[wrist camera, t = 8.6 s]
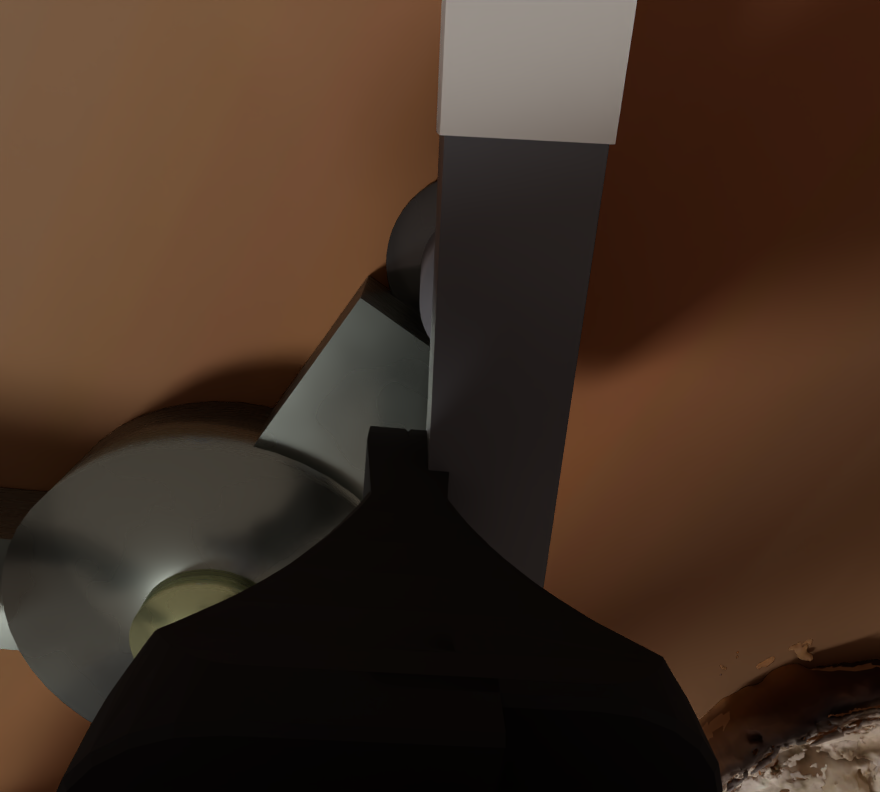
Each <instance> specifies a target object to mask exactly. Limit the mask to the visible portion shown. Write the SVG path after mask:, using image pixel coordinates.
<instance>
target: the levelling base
mask: <svg viewBox="0 0 880 792" xmlns="http://www.w3.org/2000/svg"><path fill="white" fill-rule="evenodd" d="M437 182H438V180H437V181H435V182H433V183H431V184H430V185H428V186H427V187H425V188H424V189H423V190H421V191H420V192H419V193H418V194H417V195H416V196H414V197H413V198H412V199H411V200H410V202H409V203H408V204H407V205H406V207H405V208H404V209H403V211H402V212H401V214H400V215H399V217H398V219H397V221H396V223H395V225H394V228H393V230H392V233H391V236H390V240H389V243H388V249H387V259H386V268H387V278H388V282H389V286H390V290H391V291H390V290H389V289H387V288H386V287H384V286H383V285H382V284H380V283H379V282H378V281H376V280H375V279H373V278H372V277H371V276H368V277H367V278H366V280H365V281H364V283H363V284H362V285H361V287H360V288H359V290H358V291H357V292H356V294H355V295H354V297H353V298H352V299H351V301H350V302H349V304H348V305H347V306H346V308H345V309H344V311H343V312H342V313H341V315H340V316H339V317H338V319H337V320H336V322H335V323H334V324H333V326H332V327H331V329H330V330H329V331H328V333H327V334H326V336H325V337H324V338H323V340H322V341H321V343H320V344H319V345H318V347H317V348H316V350H315V351H314V352H313V354H312V355H311V357H310V358H309V359H308V361H307V362H306V364H305V365H304V366H303V368H302V369H301V371H300V372H299V373H298V375H297V376H296V378H295V379H294V380H293V382H292V383H291V385H290V386H289V387H288V389H287V390H286V391H285V393H284V394H283V396H282V397H281V398H280V400H279V401H278V403H277V404H276V405H275V407H274V408H270V407H266V406H260V405H254V404H247V403H241V402H219V401H213V402H199V403H188V404H183V405H178V406H173V407H168V408H163V409H160V410H157V411H154V412H151V413H148V414H146V415H143V416H140V417H138V418H136V419H134V420H132V421H130V422H128V423H126V424H124V425H122V426H120V427H119V428H117V429H116V430H114V431H113V432H112V433H110V434H109V435H107V436H106V437H105V438H103V439H102V440H101V441H100V442H99V443H98V444H96V445H95V446H94V447H93V448H92V449H91V450H90V451H89V452H88V453H87V454H86V455H85V456H84V457H83V458H82V459H81V460H80V461H79V462H78V463H77V464H76V465H75V466H74V467H73V468H72V469H71V470H70V471H69V472H68V473H67V474H66V475H65V476H64V477H63V478H62V479H61V480H60V481H59V482H58V483H57V484H56V485H55V486H54V487H53V488H52V489H51V490H50V491H49V492H43V491H32V490H21V489H10V488H0V649H11V650H19V651H20V652H21V654H22V656H23V657H24V659H25V660H26V662H27V663H28V665H29V666H30V668H31V669H32V671H33V672H34V673H35V674H36V675H37V676H38V678H39V679H40V680H41V681H42V682H43V683H44V685H45V686H46V687H47V688H48V689H49V690H50V691H51V692H53V693H54V694H55V695H56V696H57V697H58V698H59V699H60V700H61V701H62V702H63V703H65V704H66V705H67V706H69V707H70V708H71V709H73V710H74V711H75V712H77V713H78V714H79V715H81V716H82V717H83V718H85V719H87V720H88V721H90V722H93V720H94V718H95V716H96V715H97V713H98V711H99V709H100V708H101V706H102V704H103V703H104V701H105V699H106V698H107V696H108V695H109V693H110V692H111V690H112V689H113V688H114V686H115V685H116V683H117V682H118V681H119V679H120V678H121V676H122V675H123V673H124V672H125V671H126V669H127V668H128V666H129V665H130V664H131V662H132V661H133V660H134V658H135V657H136V655H137V654H138V653H139V651H140V650H141V649H142V647H143V646H144V644H145V643H146V642H147V640H148V639H149V638H150V636H151V635H152V634H153V632H154V631H155V630H157V629H158V628H161V627H163V626H166V625H168V624H171V623H174V622H176V621H178V620H180V619H183V618H185V617H187V616H189V615H192V614H194V613H196V612H199V611H201V610H203V609H205V608H208V607H210V606H212V605H214V604H217V603H219V602H221V601H224V600H226V599H228V598H230V597H232V596H234V595H236V594H238V593H240V592H242V591H244V590H245V589H247V588H249V587H251V586H253V585H255V584H256V583H258V582H260V581H262V580H264V579H266V578H267V577H269V576H271V575H272V574H274V573H276V572H277V571H279V570H281V569H282V568H284V567H285V566H287V565H288V564H290V563H291V562H293V561H294V560H296V559H297V558H298V557H300V556H301V555H302V554H304V553H305V552H306V551H307V550H309V549H310V548H311V547H313V546H314V545H315V544H316V543H318V542H319V541H320V540H322V539H323V538H324V537H325V536H326V535H328V534H329V533H330V532H331V531H332V530H333V529H334V528H335V527H336V526H338V525H339V524H340V523H341V522H342V521H343V520H344V519H345V518H346V517H347V516H348V515H349V514H350V513H351V512H352V511H353V510H354V509H355V508H356V507H357V506H358V504H359V503H360V502H361V501H362V500H363V488H364V474H365V461H366V447H367V437H368V433H369V429H370V426H380V427H392V428H403V429H406V430H407V431H409V430H410V429H415V430H426V426H427V404H428V382H429V359H430V338H429V336H428V335H427V333H426V330H425V328H424V326H423V323H422V319H421V314H420V273H421V259H422V255H423V251H424V249H425V246H426V244H427V242H428V240H429V238H430V237H431V236H432V234H433V233H434V232H435V226H436V204H437Z"/></svg>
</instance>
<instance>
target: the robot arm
mask: <svg viewBox="0 0 880 792" xmlns="http://www.w3.org/2000/svg"><path fill="white" fill-rule="evenodd" d="M448 482H449V472H444V471H432V470H428V442H427V430H415V429H410V430H409V431H407V430H406V429H403V428H392V427H380V426H370V429H369V433H368V437H367V447H366V461H365V474H364V488H363V500H362V501H361V502H360V503H359V504H358V506H357V507H356V508H355V509H354V510H353V511H352V512H351V513H350V514H349V515H348V516H347V517H346V518H345V519H344V520H343V521H342V522H341V523H340V524H339V525H338V526H336V527H335V528H334V529H333V530H332V531H331V532H330V533H329V534H328V535H326V536H325V537H324V538H323V539H322V540H320V541H319V542H318V543H316V544H315V545H314V546H313V547H311V548H310V549H309V550H307V551H306V552H305V553H304V554H302V555H301V556H300V557H298V558H297V559H296V560H294V561H293V562H291V563H290V564H288V565H287V566H285V567H284V568H282V569H281V570H279V571H277V572H276V573H274V574H272V575H271V576H269V577H267V578H266V579H264V580H262V581H260V582H258V583H256V584H255V585H253V586H251V587H249V588H247V589H245V590H244V591H242V592H240V593H238V594H236V595H234V596H232V597H230V598H228V599H226V600H224V601H221V602H219V603H217V604H214V605H212V606H210V607H208V608H205V609H203V610H201V611H199V612H196V613H194V614H192V615H189V616H187V617H185V618H183V619H180V620H178V621H176V622H174V623H171V624H168V625H166V626H163V627H161V628H158V629H157V630H155V631H154V632H153V634H152V635H151V636H150V638H149V639H148V640H147V642H146V643H145V644H144V646H143V647H142V649H141V650H140V651H139V653H138V654H137V655H136V657H135V658H134V660H133V661H132V662H131V664H130V665H129V666H128V668H127V669H126V671H125V672H124V673H123V675H122V676H121V678H120V679H119V681H118V682H117V683H116V685H115V686H114V688H113V689H112V690H111V692H110V693H109V695H108V696H107V698H106V699H105V701H104V703H103V704H102V706H101V708H100V709H99V711H98V713H97V715H96V716H95V718H94V720H93V722H92V723H91V725H90V727H89V729H88V731H87V733H86V735H85V737H84V739H83V740H82V742H81V744H80V746H79V748H78V750H77V752H76V754H75V756H74V757H73V759H72V761H71V763H70V765H69V767H68V769H67V771H66V773H65V774H64V776H63V778H62V780H61V783H60V785H59V787H58V789H57V791H56V792H722V791H723V787H722V781H721V774H720V768H719V763H718V761H717V758H716V756H715V754H714V752H713V750H712V748H711V746H710V744H709V742H708V740H707V737H706V735H705V733H704V731H703V729H702V727H701V724H700V722H699V720H698V718H697V716H696V714H695V712H694V711H693V709H692V707H691V705H690V703H689V701H688V699H687V697H686V695H685V694H684V692H683V690H682V689H681V687H680V685H679V684H678V682H677V680H676V679H675V677H674V675H673V674H672V672H671V670H670V668H669V667H668V665H667V663H666V661H665V660H664V658H663V657H662V656H660V655H658V654H656V653H654V652H652V651H650V650H648V649H647V648H645V647H643V646H641V645H639V644H637V643H635V642H633V641H631V640H629V639H627V638H625V637H624V636H622V635H620V634H618V633H616V632H614V631H612V630H610V629H608V628H606V627H604V626H602V625H600V624H599V623H597V622H595V621H593V620H591V619H590V618H588V617H586V616H585V615H583V614H582V613H580V612H579V611H577V610H575V609H574V608H572V607H571V606H569V605H567V604H566V603H564V602H563V601H561V600H560V599H558V598H556V597H555V596H553V595H552V594H550V593H549V592H548V591H546V590H545V589H543V588H542V587H540V586H539V585H538V584H536V583H535V582H533V581H532V580H531V579H530V578H528V577H527V576H526V575H524V574H523V573H522V572H521V571H519V570H518V569H517V568H516V567H514V566H513V565H512V564H511V563H509V562H508V561H507V560H506V559H504V558H503V557H502V556H501V555H500V554H499V553H498V552H496V551H495V550H494V549H493V548H492V547H491V546H490V545H489V544H488V543H487V542H486V541H485V540H484V539H483V538H482V537H481V536H480V535H479V534H478V533H477V532H476V531H475V530H474V529H473V528H472V527H471V526H470V525H469V524H468V523H467V522H466V521H465V519H464V518H463V517H462V516H461V515H460V513H459V512H458V511H457V510H456V508H455V507H454V506H453V505H452V503H451V502H450V501H449V499H448Z"/></svg>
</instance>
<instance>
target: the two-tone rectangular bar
mask: <svg viewBox="0 0 880 792" xmlns="http://www.w3.org/2000/svg"><path fill="white" fill-rule="evenodd" d="M636 5H637V0H442V8H441V32H440V55H439V78H438V102H437V125H436V132H437V133H438V134H439V135H440V137H439V160H438V182H437V204H436V226H435V232H434V233H433V234H432V236H431V237H430V238H429V240H428V242H427V244H426V246H425V249H424V251H423V255H422V259H421V273H420V314H421V319H422V323H423V326H424V328H425V330H426V333H427V335H428V336H429V338H430V359H429V382H428V404H427V426H426V430H427V442H428V470H432V471H444V472H449V482H448V499H449V501H450V502H451V503H452V505H453V506H454V507H455V508H456V510H457V511H458V512H459V513H460V515H461V516H462V517H463V518H464V519H465V521H466V522H467V523H468V524H469V525H470V526H471V527H472V528H473V529H474V530H475V531H476V532H477V533H478V534H479V535H480V536H481V537H482V538H483V539H484V540H485V541H486V542H487V543H488V544H489V545H490V546H491V547H492V548H493V549H494V550H495V551H496V552H498V553H499V554H500V555H501V556H502V557H503V558H504V559H506V560H507V561H508V562H509V563H511V564H512V565H513V566H514V567H516V568H517V569H518V570H519V571H521V572H522V573H523V574H524V575H526V576H527V577H528V578H530V579H531V580H532V581H533V582H535V583H536V584H538V585H539V586H540V587H542V588H543V586H544V580H545V573H546V566H547V559H548V553H549V546H550V539H551V533H552V526H553V519H554V512H555V506H556V499H557V492H558V486H559V479H560V472H561V465H562V459H563V452H564V445H565V439H566V432H567V425H568V418H569V412H570V405H571V398H572V392H573V385H574V378H575V371H576V365H577V358H578V351H579V345H580V338H581V331H582V324H583V318H584V311H585V304H586V298H587V291H588V284H589V277H590V271H591V264H592V257H593V251H594V244H595V237H596V230H597V224H598V217H599V210H600V204H601V197H602V190H603V183H604V177H605V170H606V163H607V157H608V150H609V144H615V142H616V136H617V129H618V123H619V116H620V110H621V103H622V97H623V90H624V83H625V77H626V70H627V64H628V57H629V51H630V44H631V38H632V31H633V24H634V18H635V11H636Z"/></svg>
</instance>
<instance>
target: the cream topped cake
mask: <svg viewBox="0 0 880 792" xmlns="http://www.w3.org/2000/svg"><path fill="white" fill-rule="evenodd" d="M812 641H813V639H809V640H807V641H806V642H803V643H801V642H798V644H796V645H793V646H791V647H789V650H790V651H792V650H794V651H795V653H796V655H797V656H798V658H799V659H802V660H806V661H811V660H813V656H812V655H811V654H810V653H808V652H807V648H808V645H807V644H809V645H812ZM806 643H807V644H806ZM805 644H806V645H805ZM803 645H805V646H803ZM802 646H803V647H802ZM736 653H739V651H738V652H736ZM736 658H738V656H736ZM774 659H775V657H774V656H773V657H771V658H768V659H766V660H765V661H763V662H760V663H759V664H758V665H757V667H756V668H758V669H760V668H761V667H767V666H768V665H770V664H771V663H773V662H774ZM720 667H721V669H724V670H726V669H727V668H726V667H724V666H722V665H720ZM721 675H722V674H720V676H721ZM699 722H700V724H701V727H702V729H703V731H704V733H705V735H706V737H707V740H708V742H709V744H710V746H711V748H712V750H713V752H714V754H715V756H716V758H717V761H718V763H719V768H720V774H721V781H722V787H723V791H722V792H880V660H879V659H874V660H866V661H861V662H855V663H840V664H833V665H827V666H819V667H816V668H814V669H808V668H806V667H803V666H802V665H801V664H789V665H785V666H782V667H779V668H777V669H775V670H773V671H772V672H770V673H769V674H768V675H767V676H766V677H765V679H764V680H763V681H762V682H761V683H759V684H757V685H754V686H747V687H744V688H742V689H741V690H739V691H737V692H736V693H734V694H732V695H729V696H727V697H725V698H723V699H722V700H720V701H719V702H718V703H717V704H716V705H715V706H714V707H713V708H712V709H711V710H710V711H709V712H708V713H707V714H706V715H705V716H704V717H703V718H701V719H700V720H699Z"/></svg>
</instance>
